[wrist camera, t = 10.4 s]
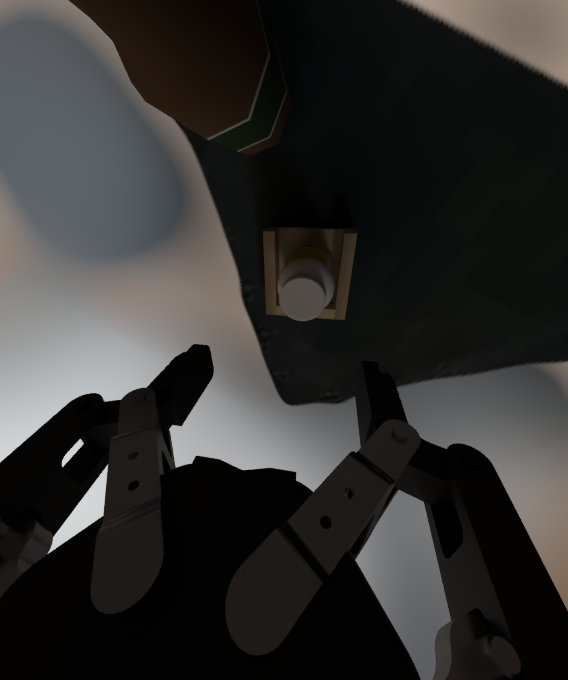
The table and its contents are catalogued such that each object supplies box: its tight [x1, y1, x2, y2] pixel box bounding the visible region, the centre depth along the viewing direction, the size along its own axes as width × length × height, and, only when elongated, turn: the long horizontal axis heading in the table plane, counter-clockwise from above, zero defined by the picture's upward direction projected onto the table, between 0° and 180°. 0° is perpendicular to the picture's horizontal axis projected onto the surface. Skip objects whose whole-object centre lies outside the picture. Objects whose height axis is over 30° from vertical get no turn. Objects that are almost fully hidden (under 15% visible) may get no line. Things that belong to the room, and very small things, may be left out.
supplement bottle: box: [277, 244, 334, 321], centre depth 25 cm, size 5×5×10 cm
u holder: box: [263, 227, 357, 320], centre depth 28 cm, size 9×9×4 cm
